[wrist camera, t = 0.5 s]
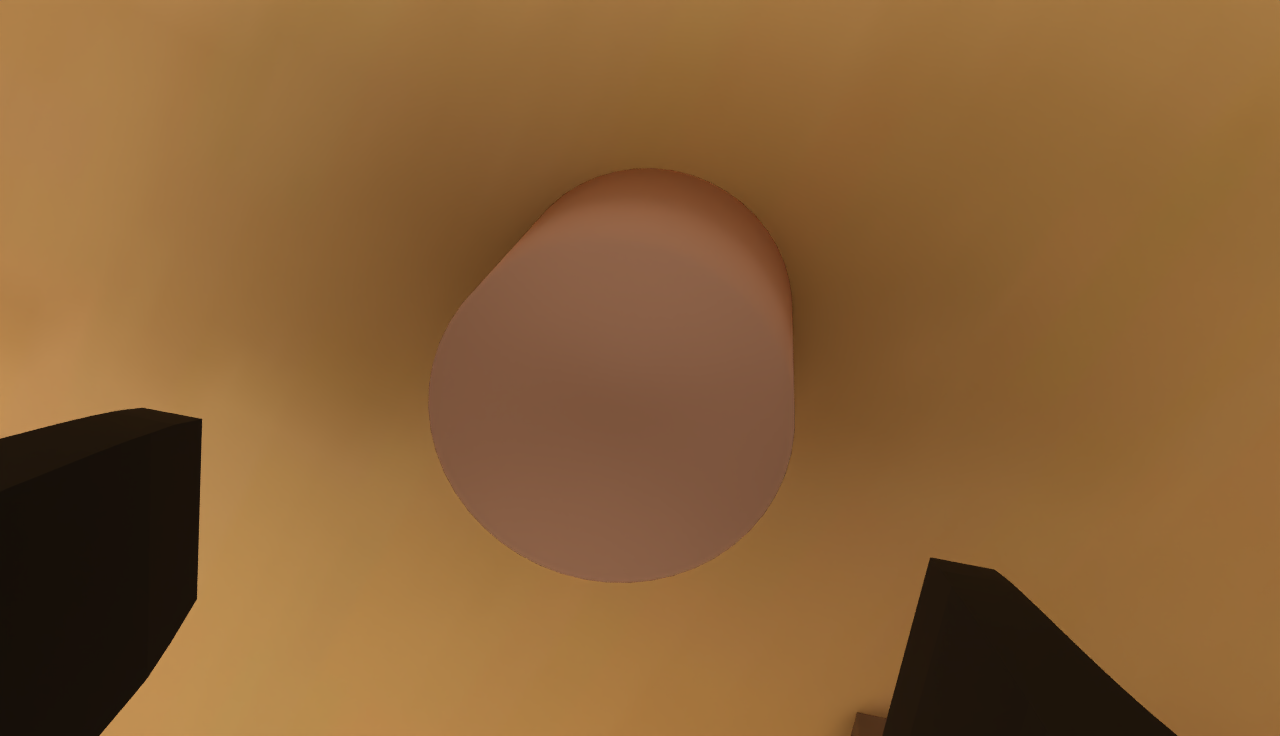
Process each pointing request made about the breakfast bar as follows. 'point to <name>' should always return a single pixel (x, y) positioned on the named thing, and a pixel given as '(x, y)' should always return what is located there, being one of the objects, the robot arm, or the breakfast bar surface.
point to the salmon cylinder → (622, 381)
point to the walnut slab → (868, 725)
